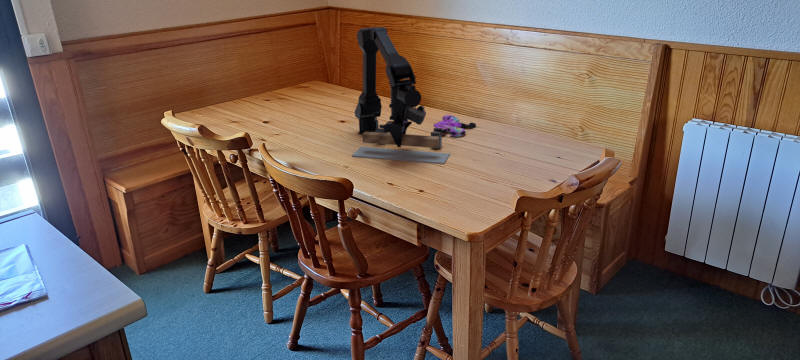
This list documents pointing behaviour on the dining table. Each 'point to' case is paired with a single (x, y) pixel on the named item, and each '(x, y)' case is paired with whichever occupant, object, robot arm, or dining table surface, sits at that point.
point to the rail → (406, 139)
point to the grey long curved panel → (401, 155)
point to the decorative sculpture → (453, 126)
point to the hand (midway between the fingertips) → (400, 145)
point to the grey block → (436, 133)
